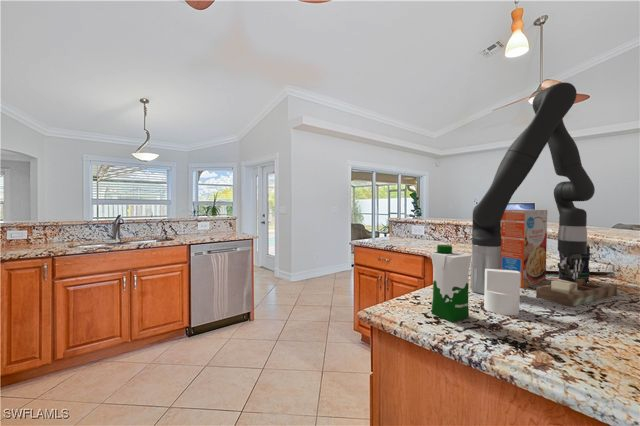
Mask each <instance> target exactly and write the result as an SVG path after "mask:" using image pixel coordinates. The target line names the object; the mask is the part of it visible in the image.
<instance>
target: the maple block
mask: <svg viewBox="0 0 640 426" xmlns="http://www.w3.org/2000/svg"><path fill="white" fill-rule="evenodd" d="M550 282H551V283H550V285H551V290H553V291H557V292H561V293H566V294H574V293H577V283H575V282H570V281H565V280H560V279H559V278H558V279H554V280H551V281H550Z"/></svg>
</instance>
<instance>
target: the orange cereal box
mask: <svg viewBox="0 0 640 426" xmlns="http://www.w3.org/2000/svg"><path fill="white" fill-rule="evenodd" d="M547 233H548V209H505V212H504V214H503V217H502V219H501V270H512V271H518V272H520V289H523V290H524V289H526V288H529V287H531V286H533V285H536V284H538V282H539V283H541V282H543V280H544V281H546V280H547V279H546V278H547V277H546V276H547V248H548V245H547V243H548V240H547V238H548V236H547V235H548V234H547Z"/></svg>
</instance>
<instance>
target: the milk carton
mask: <svg viewBox="0 0 640 426" xmlns="http://www.w3.org/2000/svg"><path fill="white" fill-rule="evenodd" d="M436 248H437V249H436V252H435V251H434V252H431V253H430V255H431V256H430V258H431V262H432V267H433V268H432V272H433V274H432V275H433V277H432V279H433V280H432V301H431V302H432V304H431V314H432V315H433V316H436V317H439V318H441V319H444V320H446V321H447V322H451V323H455V322H459V321H462V320H466V319H470V313H469V312H470V311H469V309H470V308H469V307H470V306H469V282H470V281H469V280H470V279H469V277H470V268H471V262H472V254H465V253H463V252H454V251H453V245H448V244H438V245H436Z"/></svg>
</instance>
